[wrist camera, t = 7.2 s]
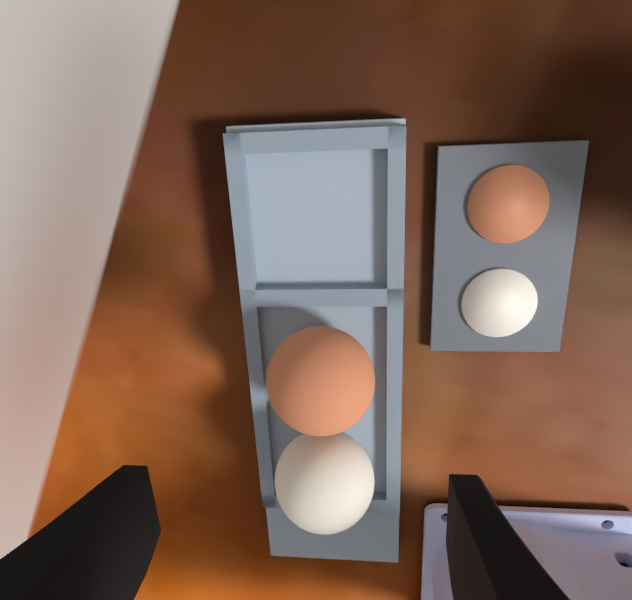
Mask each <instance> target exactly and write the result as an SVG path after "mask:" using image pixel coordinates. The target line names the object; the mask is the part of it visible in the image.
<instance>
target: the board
mask: <svg viewBox="0 0 632 600" xmlns="http://www.w3.org/2000/svg"><path fill="white" fill-rule="evenodd" d="M405 124H406V119H405V118H386V119H364V120H343V121H321V122H299V123H277V124H255V125H234V126H228V127H226V132H227V133H223V142H224V151H225V160H226V170H227V179H228V188H229V198H230V207H231V216H232V226H233V235H234V244H235V253H236V263H237V272H238V281H239V291H240V300H241V309H242V319H243V328H244V337H245V347H246V356H247V365H248V375H249V384H250V393H251V402H252V412H253V421H254V430H255V440H256V449H257V458H258V468H259V477H260V486H261V496H262V505H263V507H265V508H266V514H267V524H268V533H269V543H270V552H271V556H285V557H303V558H322V559H340V560H358V561H376V562H394V563H398V558H399V513H400V475H401V416H402V356H403V296H404V236H405V177H406V125H405ZM316 326H326V327H332V328H336V329H339V330H341V331H344V332H346V333H347V334H349V335H351V336H352V337H353V338H355V339H356V340H357V341H358V342H359V343H360V344H361V345H362V346H363V348H364V349H365V350H366V352H367V354H368V356H369V357H370V360H371V362H372V365H373V369H374V374H375V389H374V394H373V398H372V401H371V403H370V406H369V407H368V409H367V411H366V412H365V414H364V415H363V416H362V418H361V419H360V420H359V421H358V422H357V423H356V424H354V425H353V426H352V427H350V428H349V429H347V430H345V431H343V433H345V434H347V435H349V436H351V437H352V438H353V439H355V440H356V441H357V442H358V443H359V444H360V445H361V446H362V447H363V449H364V450H365V452H366V453H367V455H368V457H369V459H370V461H371V464H372V467H373V471H374V481H375V483H374V493H373V497H372V500H371V503H370V505H369V507H368V509H367V511H366V512H365V514H364V515H363V516H362V517H361V518H360V520H359V521H358V522H356V523H355V524H354V525H353V526H351V527H350V528H348V529H346V530H344V531H341V532H338V533H335V534H328V535H322V534H315V533H311V532H308V531H306V530H303V529H302V528H300V527H298V526H297V525H296V524H294V523H293V522H292V521H291V520H290V519H289V518H288V517H287V516H286V514H285V513H284V511H283V510H282V508H281V506H280V504H279V502H278V499H277V495H276V490H275V472H276V467H277V464H278V461H279V458H280V457H281V455H282V453H283V451H284V450H285V448H286V447H287V446H288V445H289V444H290V443H291V442H292V441H293V440H294V439H295V438H297V437H298V436H300V435H302V434H303V433H301V432H298V431H297V430H295V429H293V428H291V427H290V426H288V425H287V424H286V423H285V422H284V421H282V419H281V418H280V417H279V416H278V415H277V413H276V412H275V410H274V409H273V407H272V405H271V402H270V400H269V397H268V393H267V386H266V377H267V370H268V366H269V362H270V360H271V358H272V356H273V354H274V352H275V351H276V349H277V348H278V347H279V345H280V344H281V343H282V342H283V341H284V340H285V339H286V338H288V337H289V336H291V335H292V334H294V333H296V332H298V331H300V330H302V329H305V328H309V327H316Z"/></svg>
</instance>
